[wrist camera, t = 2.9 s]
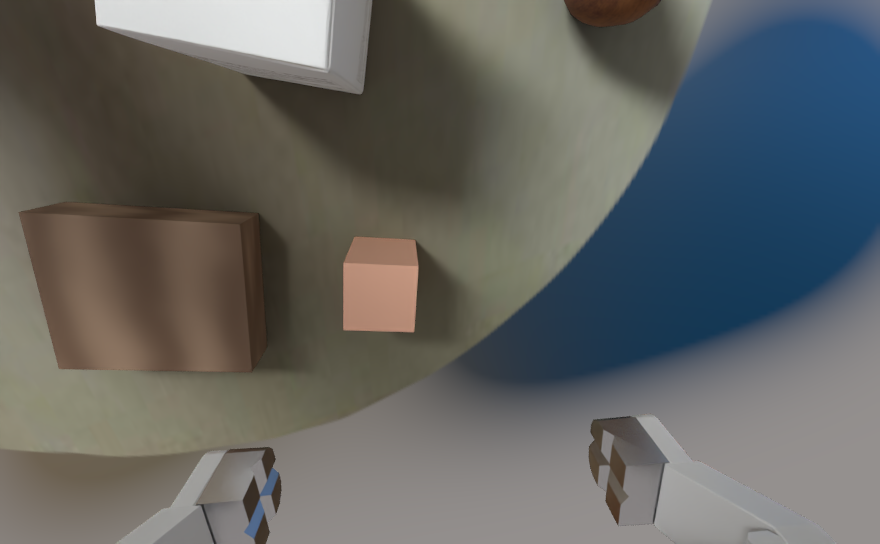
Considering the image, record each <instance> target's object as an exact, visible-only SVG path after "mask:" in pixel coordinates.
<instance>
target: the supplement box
mask: <svg viewBox="0 0 880 544" xmlns="http://www.w3.org/2000/svg"><path fill="white" fill-rule="evenodd" d="M95 9H96V22H97V25H98V26H99V27H102V28H105V29H108V30H110V31H113V32H116V33H119V34H122V35H125V36H128V37H131V38H134V39H137V40H140V41H143V42H146V43H149V44H153V45H156V46H159V47H162V48H166V49H169V50H172V51H175V52H178V53H181V54H185V55H188V56H191V57H194V58H197V59H201V60H204V61H207V62H210V63H213V64H216V65H219V66H222V67H225V68H228V69H231V70H234V71H238V72H240V73H243V74H247V75H252V76H257V77H263V78H269V79H274V80H280V81H286V82H292V83H297V84H303V85H309V86H314V87H320V88H325V89H331V90H337V91H342V92H348V93H354V94H362V92H363V90H364V80H365V70H366V60H367V51H368V41H369V30H370V20H371V10H372V0H95Z"/></svg>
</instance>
